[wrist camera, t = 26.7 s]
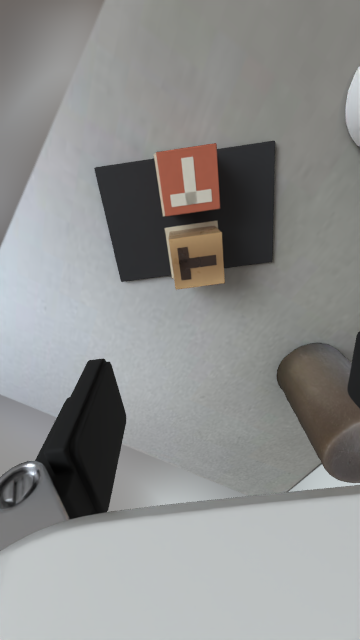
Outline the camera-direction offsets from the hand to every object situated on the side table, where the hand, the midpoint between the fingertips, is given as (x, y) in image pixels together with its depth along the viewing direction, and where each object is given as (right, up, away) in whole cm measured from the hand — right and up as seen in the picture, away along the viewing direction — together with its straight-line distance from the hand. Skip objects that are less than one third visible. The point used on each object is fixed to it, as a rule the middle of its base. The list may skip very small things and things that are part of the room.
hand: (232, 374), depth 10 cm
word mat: (-1, +13, +19) cm, 24 cm away
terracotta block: (-1, +16, +17) cm, 24 cm away
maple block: (0, +10, +20) cm, 23 cm away
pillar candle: (+17, -5, +29) cm, 34 cm away
